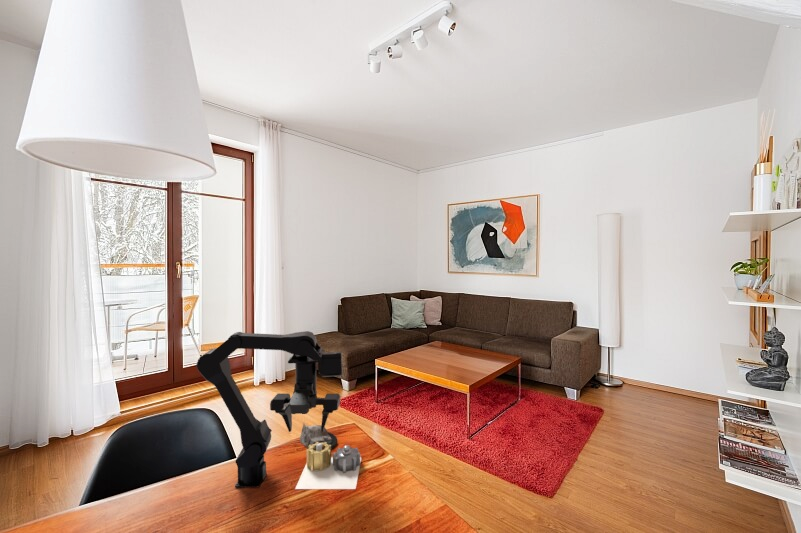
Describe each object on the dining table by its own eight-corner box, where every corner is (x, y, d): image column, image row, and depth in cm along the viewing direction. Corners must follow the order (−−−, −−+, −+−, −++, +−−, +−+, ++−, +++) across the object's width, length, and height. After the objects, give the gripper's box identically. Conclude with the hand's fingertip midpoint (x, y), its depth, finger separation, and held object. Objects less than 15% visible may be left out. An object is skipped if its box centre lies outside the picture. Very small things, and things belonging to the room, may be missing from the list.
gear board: (295, 494, 96) (294, 466, 96) (309, 462, 111) (309, 437, 111) (355, 494, 96) (355, 466, 96) (361, 462, 111) (361, 437, 111)
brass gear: (304, 471, 103) (304, 453, 103) (310, 457, 110) (310, 441, 110) (328, 471, 103) (328, 453, 103) (332, 457, 110) (332, 441, 110)
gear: (330, 473, 103) (330, 453, 103) (335, 457, 111) (335, 439, 111) (358, 473, 103) (358, 453, 103) (361, 457, 111) (361, 439, 111)
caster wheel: (338, 457, 118) (309, 463, 112) (325, 436, 127) (297, 440, 121) (343, 439, 117) (314, 443, 111) (329, 419, 126) (302, 422, 120)
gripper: (262, 387, 95) (262, 446, 95) (333, 387, 95) (334, 446, 95) (276, 373, 106) (277, 426, 106) (340, 373, 106) (340, 426, 107)
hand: (306, 431), depth 103 cm, fingers open, 9 cm apart
